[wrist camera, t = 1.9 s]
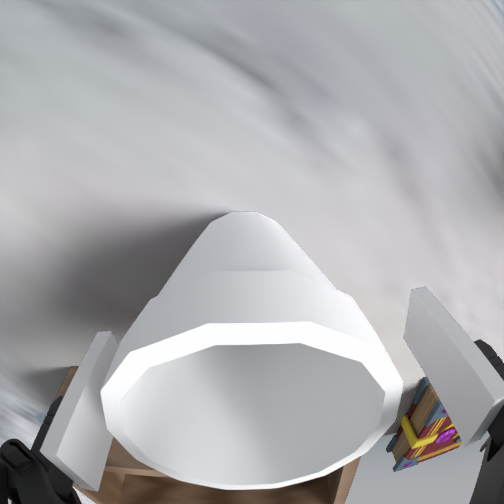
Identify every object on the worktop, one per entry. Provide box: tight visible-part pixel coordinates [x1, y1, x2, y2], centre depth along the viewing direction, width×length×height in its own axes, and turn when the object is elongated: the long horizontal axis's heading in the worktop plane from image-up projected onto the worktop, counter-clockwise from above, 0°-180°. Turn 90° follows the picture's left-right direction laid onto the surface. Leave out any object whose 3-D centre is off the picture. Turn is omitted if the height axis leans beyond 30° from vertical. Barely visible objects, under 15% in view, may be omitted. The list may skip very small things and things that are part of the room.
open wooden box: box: [54, 367, 361, 504], centre depth 22 cm, size 23×14×10 cm, turn 98°
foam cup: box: [100, 212, 404, 490], centre depth 14 cm, size 10×9×13 cm
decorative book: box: [386, 377, 462, 472], centre depth 28 cm, size 11×16×5 cm
